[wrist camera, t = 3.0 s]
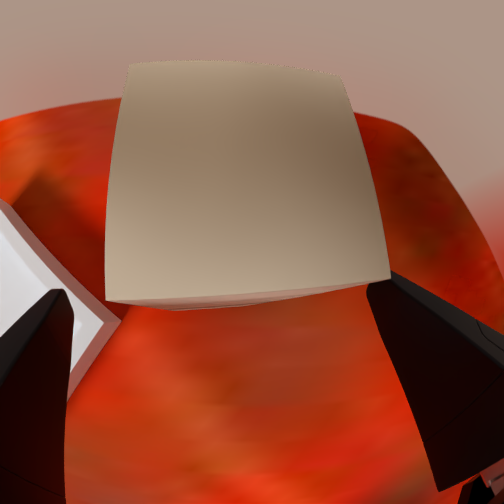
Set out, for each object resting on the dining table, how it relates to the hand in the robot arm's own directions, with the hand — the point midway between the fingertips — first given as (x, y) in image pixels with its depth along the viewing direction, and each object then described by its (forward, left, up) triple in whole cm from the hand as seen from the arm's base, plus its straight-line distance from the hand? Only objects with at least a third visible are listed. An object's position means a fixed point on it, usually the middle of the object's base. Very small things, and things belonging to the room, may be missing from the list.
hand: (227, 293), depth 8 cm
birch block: (+1, +1, -9) cm, 9 cm away
